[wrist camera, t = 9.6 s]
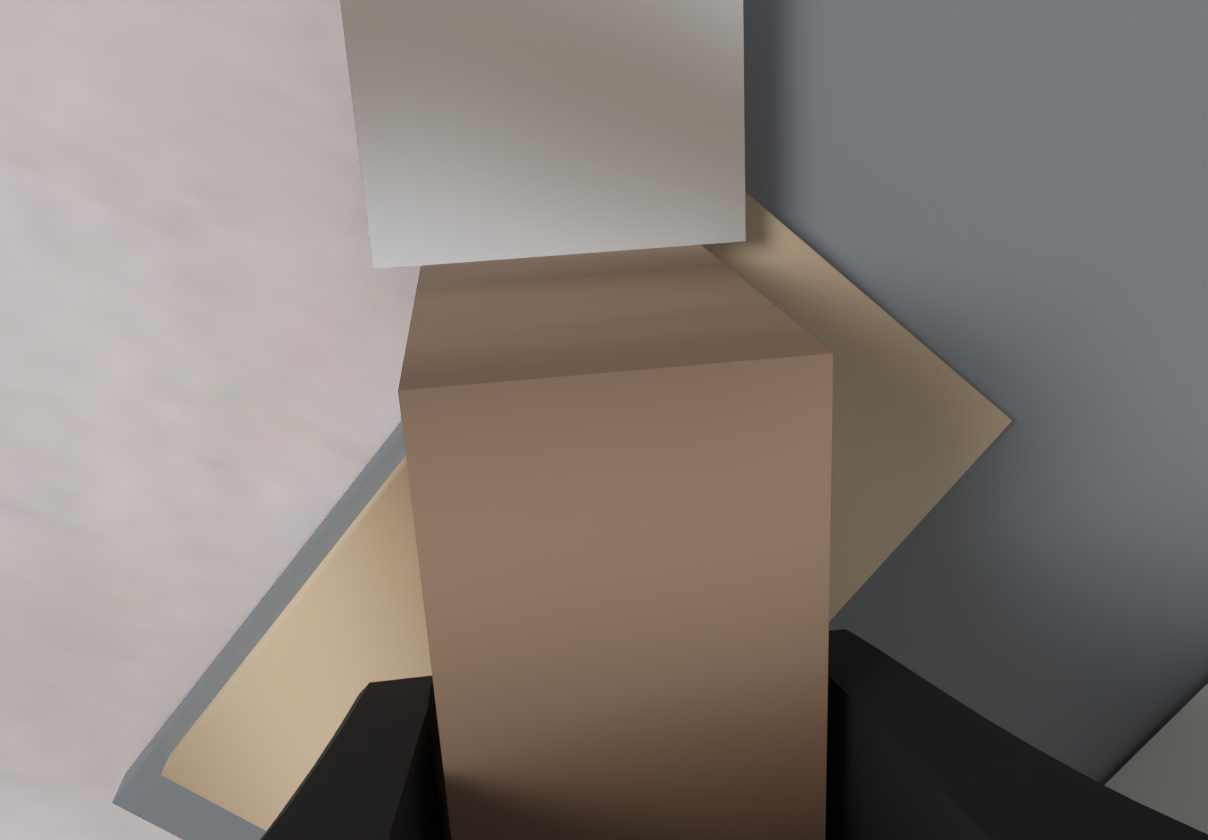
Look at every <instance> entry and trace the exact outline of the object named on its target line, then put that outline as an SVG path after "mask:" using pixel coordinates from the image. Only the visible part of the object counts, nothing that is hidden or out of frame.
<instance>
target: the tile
mask: <svg viewBox="0 0 1208 840" xmlns="http://www.w3.org/2000/svg"><path fill="white" fill-rule="evenodd" d="M1104 786H1106V787H1108V788H1110V789H1112V790H1114V791H1116V792H1118V793H1120V794H1122V795H1124V796H1126V797H1128V798H1130V799H1132V800H1134V801H1136V802H1138V803H1141V804H1143V805H1145V806H1147V807H1149V808H1151V809H1154V810H1156V811H1158V812H1160V813H1162V814H1164V815H1167V816H1169V817H1171V818H1173V819H1175V820H1178V821H1180V822H1182V823H1184V824H1186V825H1188V826H1191V827H1193V828H1195V829H1197V830H1199V831H1201V832H1204V833H1206V834H1208V683H1207V684H1206V685H1205V686H1204V687H1203V688H1202V689H1201V690H1200V691H1199V692H1198V693H1197V694H1196V695H1195V696H1194V697H1193V698H1192V699H1191V700H1190V701H1189V702H1188V703H1187V704H1186V705H1185V706H1184V707H1183V708H1182V709H1181V710H1180V711H1179V712H1178V713H1177V714H1176V715H1175V716H1174V717H1173V718H1172V719H1171V720H1170V721H1169V722H1168V723H1167V724H1166V725H1165V726H1164V727H1163V728H1162V729H1161V730H1160V731H1159V732H1158V733H1157V734H1156V735H1155V736H1154V737H1153V738H1152V739H1151V740H1150V741H1149V742H1148V743H1147V744H1146V745H1145V746H1144V747H1143V748H1141V749H1140V750H1139V751H1138V752H1137V753H1136V754H1135V755H1134V756H1133V757H1132V758H1131V759H1130V760H1129V761H1128V762H1127V763H1126V764H1125V765H1124V766H1123V767H1122V768H1121V769H1120V770H1119V771H1118V772H1117V773H1116V774H1115V775H1114V776H1113V777H1112V778H1111V779H1110V780H1109V781H1108V782H1107V783H1106V784H1105V785H1104Z"/></svg>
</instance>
